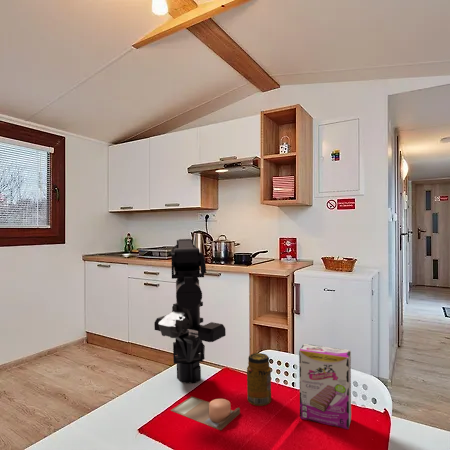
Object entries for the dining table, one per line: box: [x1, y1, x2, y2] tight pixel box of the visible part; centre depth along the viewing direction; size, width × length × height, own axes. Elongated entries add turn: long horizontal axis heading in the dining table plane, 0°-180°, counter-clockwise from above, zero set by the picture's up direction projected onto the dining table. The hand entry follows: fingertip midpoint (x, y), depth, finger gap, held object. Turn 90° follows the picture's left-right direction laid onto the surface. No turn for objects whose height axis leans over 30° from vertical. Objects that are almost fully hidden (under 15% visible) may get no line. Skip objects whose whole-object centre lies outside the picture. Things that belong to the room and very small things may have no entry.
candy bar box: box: [298, 343, 352, 430], centre depth 80 cm, size 11×5×16 cm, turn 65°
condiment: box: [246, 352, 272, 407], centre depth 88 cm, size 7×8×12 cm
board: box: [170, 395, 241, 431], centre depth 83 cm, size 15×8×2 cm, turn 56°
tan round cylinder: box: [209, 398, 232, 423], centre depth 81 cm, size 5×5×3 cm
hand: (189, 361), depth 86 cm, fingers closed
